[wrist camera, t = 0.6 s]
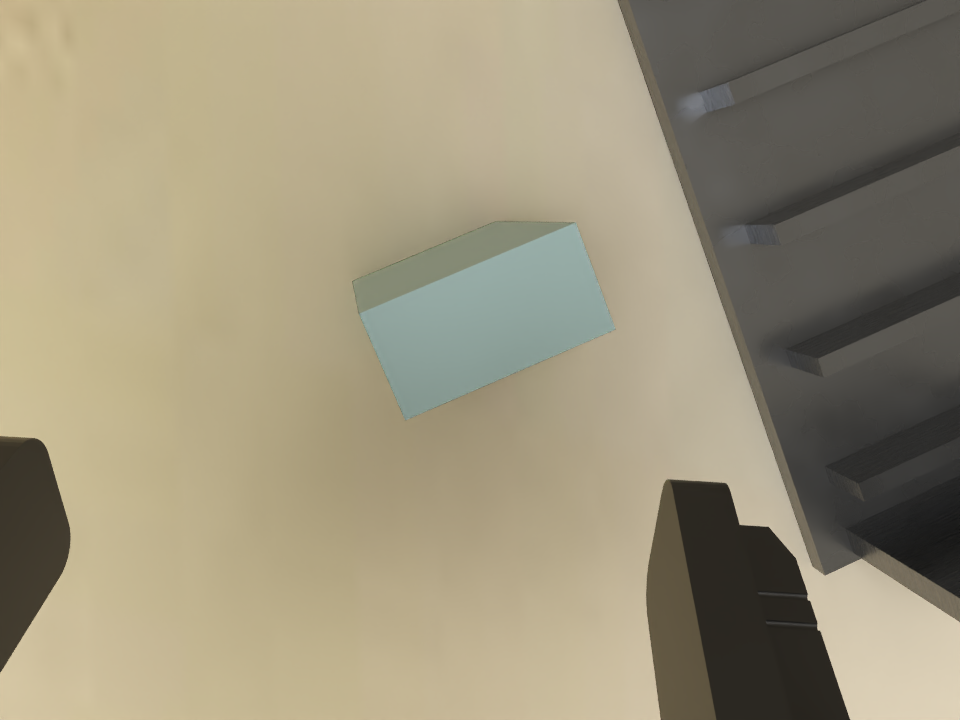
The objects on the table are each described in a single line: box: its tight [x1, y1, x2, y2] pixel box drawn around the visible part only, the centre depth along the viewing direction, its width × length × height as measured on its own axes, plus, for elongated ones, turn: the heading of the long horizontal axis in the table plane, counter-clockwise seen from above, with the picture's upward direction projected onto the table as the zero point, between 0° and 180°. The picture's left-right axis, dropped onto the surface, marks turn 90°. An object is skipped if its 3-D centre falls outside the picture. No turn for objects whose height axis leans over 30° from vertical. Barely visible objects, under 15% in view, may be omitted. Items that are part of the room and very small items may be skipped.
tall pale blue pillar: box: [352, 221, 615, 420], centre depth 29 cm, size 3×6×12 cm, turn 112°
